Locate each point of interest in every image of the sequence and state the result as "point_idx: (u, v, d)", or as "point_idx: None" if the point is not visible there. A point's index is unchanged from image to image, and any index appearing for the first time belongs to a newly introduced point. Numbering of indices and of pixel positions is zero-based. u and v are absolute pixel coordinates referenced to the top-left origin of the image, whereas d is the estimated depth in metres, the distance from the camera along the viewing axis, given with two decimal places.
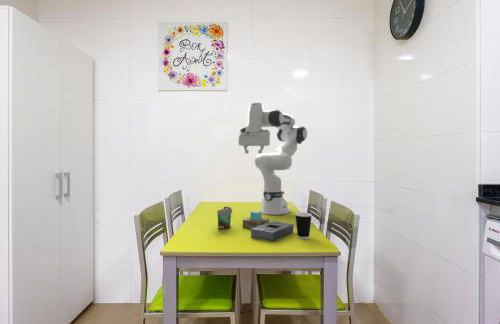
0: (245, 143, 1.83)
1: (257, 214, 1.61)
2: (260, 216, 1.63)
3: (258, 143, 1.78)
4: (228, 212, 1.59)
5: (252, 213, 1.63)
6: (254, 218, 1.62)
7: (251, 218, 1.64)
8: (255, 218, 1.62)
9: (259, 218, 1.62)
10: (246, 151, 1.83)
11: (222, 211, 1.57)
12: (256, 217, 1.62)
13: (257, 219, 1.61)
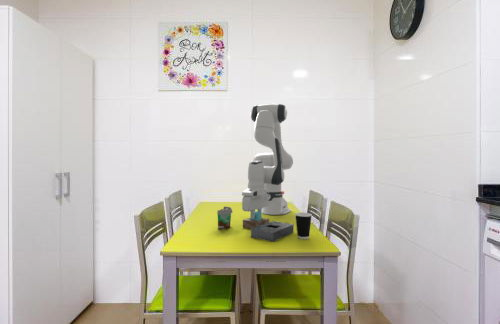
0: (253, 208, 1.59)
1: (257, 214, 1.61)
2: (260, 216, 1.63)
3: (263, 206, 1.66)
4: (228, 212, 1.59)
5: None
6: (254, 218, 1.62)
7: (251, 218, 1.64)
8: (255, 218, 1.62)
9: (259, 218, 1.62)
10: (255, 216, 1.62)
11: (222, 211, 1.57)
12: (256, 217, 1.62)
13: (257, 219, 1.61)
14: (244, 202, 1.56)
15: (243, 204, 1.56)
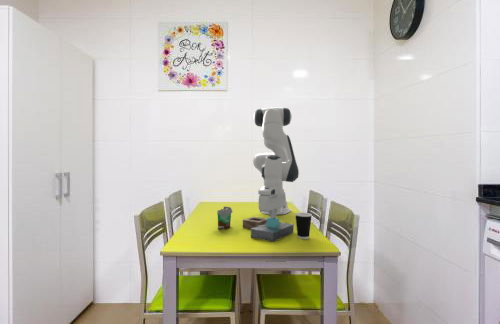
0: (271, 208, 1.43)
1: (274, 221, 1.46)
2: (277, 223, 1.48)
3: (280, 205, 1.51)
4: (228, 212, 1.59)
5: (269, 219, 1.48)
6: (271, 225, 1.47)
7: (268, 225, 1.49)
8: (272, 225, 1.47)
9: (277, 225, 1.47)
10: (274, 216, 1.48)
11: (222, 211, 1.57)
12: (273, 224, 1.47)
13: (274, 226, 1.46)
14: (261, 201, 1.41)
15: (260, 203, 1.41)
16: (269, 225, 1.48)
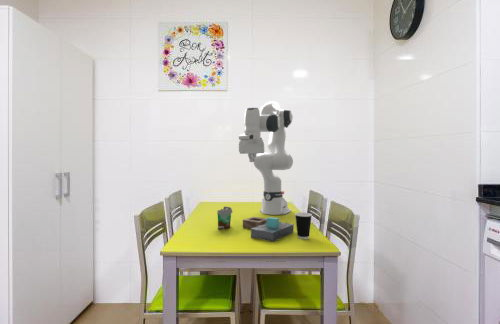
0: (250, 151, 1.65)
1: (274, 221, 1.46)
2: (277, 223, 1.48)
3: (259, 151, 1.73)
4: (228, 212, 1.59)
5: (269, 219, 1.48)
6: (271, 225, 1.47)
7: (268, 225, 1.49)
8: (272, 225, 1.47)
9: (277, 225, 1.47)
10: (253, 160, 1.69)
11: (222, 211, 1.57)
12: (273, 224, 1.47)
13: (274, 226, 1.46)
14: (241, 145, 1.62)
15: (240, 146, 1.62)
16: (269, 225, 1.48)
